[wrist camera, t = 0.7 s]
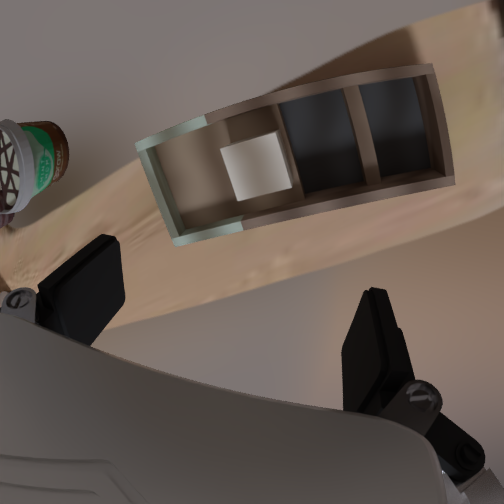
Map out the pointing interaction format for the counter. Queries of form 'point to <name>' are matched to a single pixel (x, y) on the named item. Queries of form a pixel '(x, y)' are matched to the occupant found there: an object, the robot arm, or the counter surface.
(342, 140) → the box
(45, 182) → the food container
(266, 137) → the block
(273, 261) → the counter surface
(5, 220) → the can
